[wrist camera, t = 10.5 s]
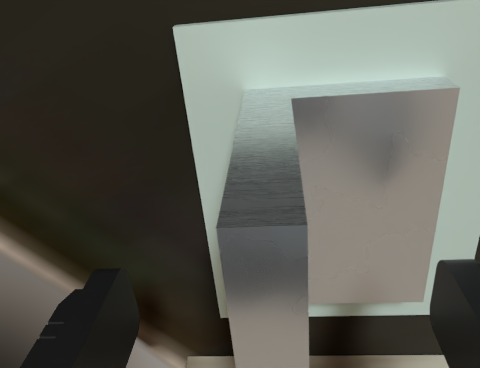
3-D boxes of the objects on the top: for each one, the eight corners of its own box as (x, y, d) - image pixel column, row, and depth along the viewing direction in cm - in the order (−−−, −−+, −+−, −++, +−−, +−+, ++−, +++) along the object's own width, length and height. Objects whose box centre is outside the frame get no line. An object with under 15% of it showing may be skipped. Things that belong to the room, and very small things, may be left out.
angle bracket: (244, 89, 13) (216, 227, 6) (444, 76, 12) (640, 214, 6) (260, 282, 17) (253, 492, 10) (413, 279, 16) (509, 501, 10)
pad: (221, 311, 18) (220, 317, 18) (175, 25, 12) (172, 27, 12) (457, 306, 17) (461, 314, 17) (526, -8, 11) (534, -7, 11)
